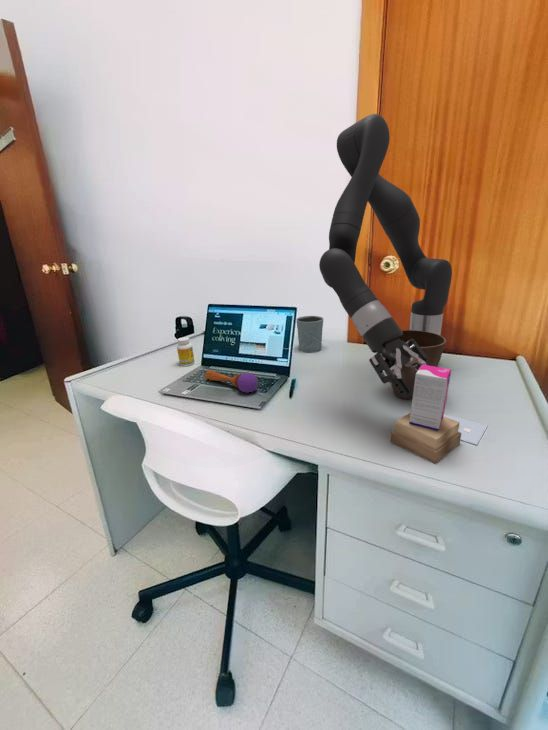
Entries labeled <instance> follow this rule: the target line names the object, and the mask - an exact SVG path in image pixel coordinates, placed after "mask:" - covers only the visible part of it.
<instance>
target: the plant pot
mask: <svg viewBox="0 0 548 730" xmlns="http://www.w3.org/2000/svg"><path fill="white" fill-rule="evenodd" d="M401 330H402V332H403V335H402V337H401V338H402V340H403V341H404V342H405V343H406V342H408V341H409V340H411V339H414V340H415V341H416V343H417V344H418V345H419V346H420V348H421V349H422V350H423V352H424V353H425V354H426V355H427V357H428V358H429V361H427V362H426V365H429V366H434V367H439V363H440V360H441V358H442V355H443V351H444V349H445V345H446V342H447V341H446V338H445V337H444V336H442V335H441V336H440V335H438V334H435V333H431V332H426V331H417V330H410V329H404V330H403V329H401ZM418 357H419V358H420V359H422V357H421V356H420V355H419V354H418ZM410 358H411V357H410ZM415 364H417V363H416V362H415ZM416 373H417V371H416V370H415V369H413V368H411V367H407V366H405V365H404V366H402V368H401V379H402V378H403V379H404V380H405V382H406V383H407V385H408V386H409V387H410V389H411V390H412V392H413V391H414V383H415V376H416ZM394 374H395V373H394ZM390 386H391V387H392V391H393V394H394V395H395V396H396V397H398V398H401V399H404V400H405V399H406V400H412V399H413V394H412V395H411V396H409V397H407V398H403V397H402V396H401V395H400V394H399V392H398V390H397V389H396V388H395V386H394V385H393V384H391V383H390Z"/></svg>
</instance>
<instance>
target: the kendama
mask: <svg viewBox="0 0 548 730" xmlns="http://www.w3.org/2000/svg"><path fill="white" fill-rule="evenodd" d="M204 377H205V379H206V380H207V379H209V380H208V381H217V382H218V381H220V382H231V383H232V385H234V387H236V388H237V389H239V390H240V391H241V392H242V393H244V392H245V393H244V394H250V393H249V392H251V393H253V392H254V391H256V389H257V388H258V385H259V381H258V377H257V376H256V375H255V374H254V373H252V372H244V373H242V374H241V373H238V374H237V375H234V376H233V377H230V376H228V375H225V374H222V373H219V372H217V371H214V370H211V369H207V370H206V371H205V373H204Z"/></svg>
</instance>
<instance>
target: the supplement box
mask: <svg viewBox="0 0 548 730" xmlns="http://www.w3.org/2000/svg"><path fill="white" fill-rule="evenodd" d="M451 374H452V369H451V368H448V367H441V366H440V367H439V366H437V367H434V366H429V365H423V364H422V365H421V367H420V368H419V370H418V371H417V373H416V376H415V383H414V391H413V399H411V407H410V412H411V414H410V421H409V424H411V425H415V426H419V427H423V428H427V429H431V430H436V431H438V430H439V427H440V424H441V422H442V420H443V416H444V414H445V410H446V403H447V398H448V391H449V385H450V380H451V379H450V378H451Z"/></svg>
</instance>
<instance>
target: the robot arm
mask: <svg viewBox="0 0 548 730" xmlns="http://www.w3.org/2000/svg"><path fill="white" fill-rule="evenodd" d="M390 137H391V136H390V130H389V126H388V123H387V121H386V120H385V118H384V117H383V116H381V115H380V114H378V113H373V114H369V115H367V116H365V117H363V118H362V119H360V120H358V121H357V122H354V124H352V125H350V126H348V127H347V128H345V129H344V130H342V131H341V132H340V134H339V135H337V140H336V150H337V153H338V154H337V156H338V157H339V160H340V162H341V163H342V165H343V166H344V168H345V170H346V172H347V173H348V174H349V176H350V177H351V178H350V180H349V181H348V183H347V185H346V187H345V188H344V190H343V191H342V193H341V195H340V197H339V198H338V200H337V203H336V205H335V208H334V211H333V213H332V218H331V223H330V227H329V232H328V242H329V243H328V244H329V248H328V250H326V251H324V253H323V254H322V255H321V257H320V260H319V271H320V273H321V276H322V278H323V280H324V282H325V284H326V285H327V286H328V287H329V288H332V289H333V291H334V292H335V294H336V295H337V297H338V299H339V302H340V303H341V307H342V308H343V309H344V310H345V312H346V314H347V315H348V317H349V318H350V319H351V321H352V323H353V324H354V327H355V329H356V330H357V332H358V333H359V335H360V336H361V338H362V339H363V341H364V342H365V344H367V347H368V348H369V350H370V351H371V352H372V353H374V355H373V356H371V357H370V358H369V359H368V360H369V363H370V365H371V366H372V368H373V369H374V371H375V373H376V374H377V376H378V378H379V379H380V381H381V383H382V384H385V385H386V384H387V383H390V385H391V384H393V385H394V386H395V388H396V389H397V390H398V392H399V394H400V395H401V396H402V397H403V398H402V399H404V398H407V397H409V396H411V395H412V394H413V392H412V390H411V389H410V387H409V386H408V385H407V383H406V382H405V380H404V379H403V378H402V379H401V368H402V366H404V365H405V366H407V367H411V368H413V369H415V370H416V371H418V370H419V368H420V367H421V365H422V364H423V365H426V362H427V361H429V358H428V357H427V355H426V354H425V353H424V352H423V350H422V349H421V348H420V346H419V345H418V344H417V343H416V341H415V340H414V339H411V340H409V341H408V342H406V343H405V342H404V341H403V340H402V338H401V337H402V335H403V332H402V330H403V329H402V328H400V326H399V325H398V323H397V322H396V321H395V319H394V317H393V316H392V315H391V313H390V312H389V310H388V309H387V308H386V307H385V305H383V304H382V303H381V302H380V301H379V299H378V298H377V296H376V295H375V294H374V291H372V290H371V288H370V287H369V286H368V284H367V283H366V281H365V280H364V279H363V276H362V275H361V272H360V270H359V269H358V267H357V265H356V255H357V254H356V253H357V246H358V241H359V238H360V235H361V230H362V226H363V222H364V221H363V220H364V216H365V211H366V209H367V205H368V204H369V205H370V207H371V209H372V210H373V212H374V214H375V216H376V217H377V220H378V222H379V224H380V226H381V228H382V230H383V231H384V233H385V234H386V236H387V238H388V239H389V241H390V242H391V245H392V247H393V249H394V250H395V252H396V254H397V256H398V258H399V260H400V263H401V265H402V268H403V270H404V273H405V275H406V277H407V280H408V282H409V283H410V284H411V286H412V287H414V288H416V289H418V290H424V295H423V297H422V299H420V300H416V301H414V302H413V303H411V308H410V309H411V310H410V318H409V319H410V322H409V330H417V331H426V332H431V333H435V334H438V335H440V336H442V335H441V334H442V326H443V318H444V311H445V310H444V309H445V307H446V306H447V303H448V298H449V294H450V293H449V292H450V289H451V284H452V277H453V275H452V274H453V269H452V264H451V263H450V262H449V261H448V260H447V259H443V258H432V257H431V258H428V257H427V256H426V255H425V254H424V252H423V250H422V248H421V246H420V244H419V235H420V228H421V221H420V220H421V219H420V215H419V213H418V211H417V208H416V206H415V205H414V203H413V200H412V198H411V196H410V195H409V194H408V193H406V192H405V191H404V190H403V189H401V188H399V186H396V185H395V184H393V183H392V182H390V181H388V180H387V179H386V178H384V177H383V176H382V175H381V174H380V170H381V167H382V165H383V163H384V160H385V157H386V155H387V152H388V149H389V146H390V145H389V144H390V139H391V138H390ZM418 354H419V355H420V356H421V357H422V359H420V358H419V357H418ZM410 357H411V358H410ZM415 362H416V363H417V364H415ZM384 373H385V374H386V375H385V374H384ZM394 373H395V374H394Z"/></svg>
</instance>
